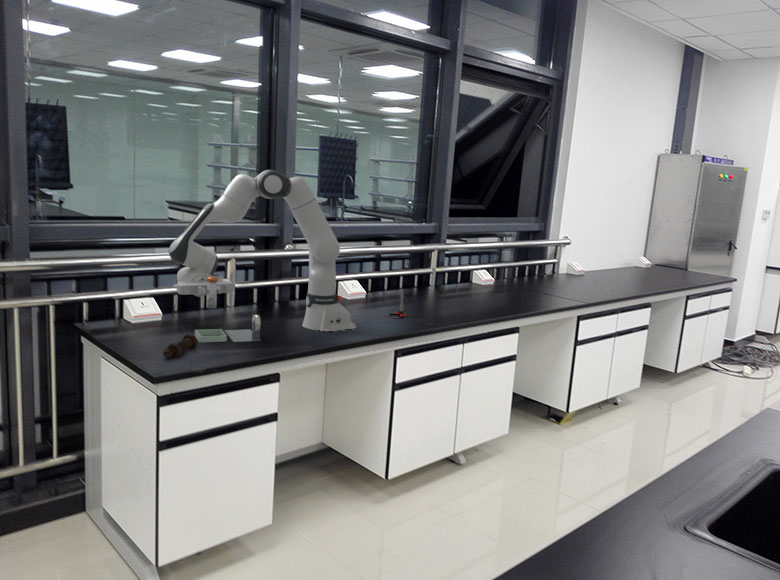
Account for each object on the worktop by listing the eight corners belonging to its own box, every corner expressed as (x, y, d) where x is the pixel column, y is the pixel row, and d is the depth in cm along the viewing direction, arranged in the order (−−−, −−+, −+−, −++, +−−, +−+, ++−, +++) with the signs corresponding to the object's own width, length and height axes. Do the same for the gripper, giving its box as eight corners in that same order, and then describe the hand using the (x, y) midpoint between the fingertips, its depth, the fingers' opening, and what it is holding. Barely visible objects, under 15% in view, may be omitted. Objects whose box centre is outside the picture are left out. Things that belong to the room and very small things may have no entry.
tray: (221, 336, 233) (221, 328, 232) (226, 343, 224) (226, 335, 224) (194, 337, 228) (194, 329, 228) (199, 345, 220) (199, 336, 220)
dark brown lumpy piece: (164, 364, 203) (189, 351, 217) (176, 359, 201) (200, 346, 215) (156, 348, 202) (181, 336, 216) (168, 343, 201) (193, 331, 215)
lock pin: (215, 306, 227) (217, 276, 225) (218, 308, 223) (219, 278, 221) (204, 306, 225) (205, 276, 223) (206, 308, 222) (207, 278, 219)
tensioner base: (250, 331, 243) (251, 306, 241) (260, 343, 229) (262, 316, 227) (224, 332, 238) (225, 307, 236) (233, 344, 224) (234, 317, 222)
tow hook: (391, 320, 284) (408, 318, 289) (393, 292, 281) (409, 290, 287) (381, 316, 291) (397, 314, 296) (382, 289, 288) (398, 287, 293)
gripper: (171, 276, 226) (183, 284, 216) (225, 275, 239) (239, 282, 228) (171, 293, 228) (183, 301, 217) (224, 291, 240) (239, 298, 229)
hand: (212, 291), depth 222 cm, fingers closed on lock pin, 3 cm apart
